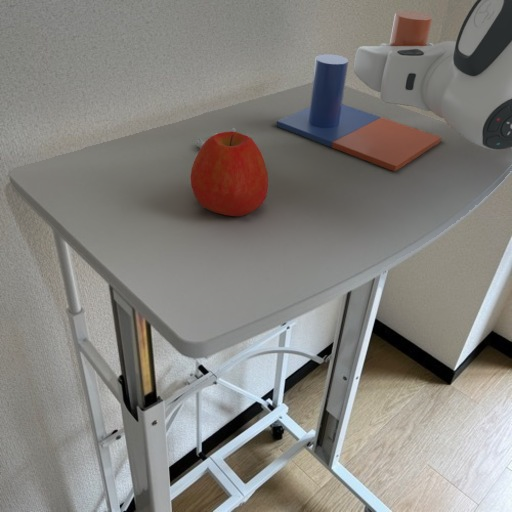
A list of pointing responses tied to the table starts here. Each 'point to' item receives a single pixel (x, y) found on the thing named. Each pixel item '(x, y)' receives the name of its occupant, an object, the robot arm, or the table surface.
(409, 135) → the board
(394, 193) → the table surface
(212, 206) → the apple
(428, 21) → the terracotta canister
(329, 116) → the blue canister
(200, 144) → the game pieces
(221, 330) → the table surface
